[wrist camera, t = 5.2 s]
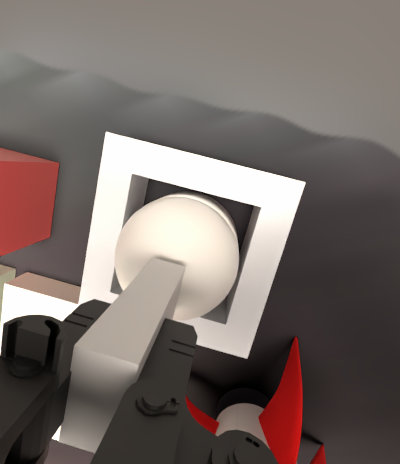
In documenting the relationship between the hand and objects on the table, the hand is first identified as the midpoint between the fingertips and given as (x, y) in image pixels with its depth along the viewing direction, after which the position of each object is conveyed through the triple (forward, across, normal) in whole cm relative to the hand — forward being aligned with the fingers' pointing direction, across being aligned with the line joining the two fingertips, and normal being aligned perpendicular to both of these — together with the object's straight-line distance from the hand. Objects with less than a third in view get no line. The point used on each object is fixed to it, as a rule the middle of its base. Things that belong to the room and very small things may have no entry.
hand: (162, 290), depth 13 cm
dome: (+8, 0, 0) cm, 8 cm away
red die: (+9, +14, 0) cm, 17 cm away
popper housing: (+9, 0, 0) cm, 9 cm away
